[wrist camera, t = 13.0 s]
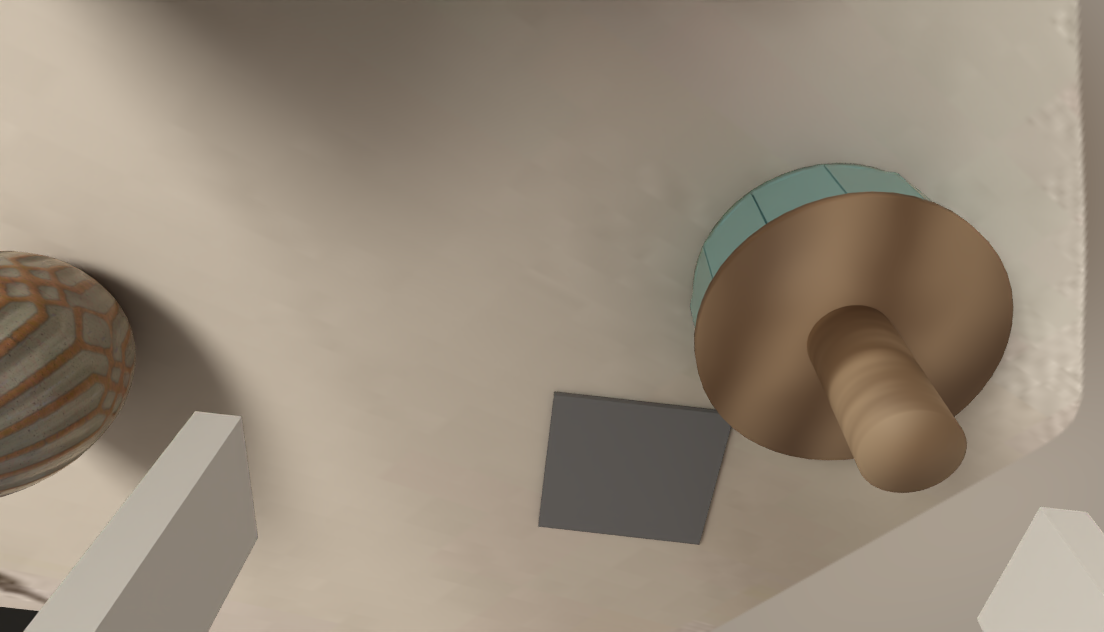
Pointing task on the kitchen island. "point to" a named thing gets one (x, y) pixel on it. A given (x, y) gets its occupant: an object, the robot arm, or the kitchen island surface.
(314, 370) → the kitchen island surface
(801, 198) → the bowl
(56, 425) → the vase
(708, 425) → the mat
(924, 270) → the lid
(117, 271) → the kitchen island surface
